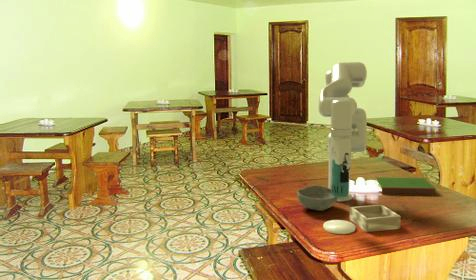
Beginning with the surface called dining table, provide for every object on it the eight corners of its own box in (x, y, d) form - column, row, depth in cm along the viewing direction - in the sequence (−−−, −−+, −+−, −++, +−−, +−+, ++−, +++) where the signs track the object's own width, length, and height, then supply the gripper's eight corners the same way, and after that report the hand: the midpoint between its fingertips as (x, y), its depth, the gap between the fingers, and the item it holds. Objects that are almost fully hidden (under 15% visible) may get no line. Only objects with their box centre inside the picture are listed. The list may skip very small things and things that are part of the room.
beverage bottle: (345, 196, 165) (347, 145, 161) (350, 201, 158) (352, 148, 155) (329, 196, 164) (330, 145, 161) (333, 202, 158) (334, 149, 154)
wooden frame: (349, 219, 173) (349, 207, 172) (381, 216, 175) (381, 204, 174) (365, 232, 159) (366, 219, 158) (400, 228, 162) (400, 216, 161)
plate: (318, 223, 168) (318, 221, 168) (347, 221, 170) (347, 218, 170) (330, 235, 157) (330, 232, 156) (360, 232, 159) (361, 230, 159)
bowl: (310, 218, 174) (310, 199, 173) (289, 205, 190) (289, 188, 189) (346, 211, 181) (347, 193, 180) (323, 200, 197) (323, 183, 196)
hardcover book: (381, 195, 204) (382, 187, 203) (375, 184, 222) (375, 177, 222) (436, 196, 200) (437, 188, 200) (425, 185, 219) (425, 178, 218)
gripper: (322, 130, 165) (322, 174, 168) (341, 137, 148) (340, 186, 151) (340, 129, 166) (340, 173, 169) (361, 136, 149) (360, 185, 152)
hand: (340, 179), depth 160 cm, fingers closed on beverage bottle, 6 cm apart
